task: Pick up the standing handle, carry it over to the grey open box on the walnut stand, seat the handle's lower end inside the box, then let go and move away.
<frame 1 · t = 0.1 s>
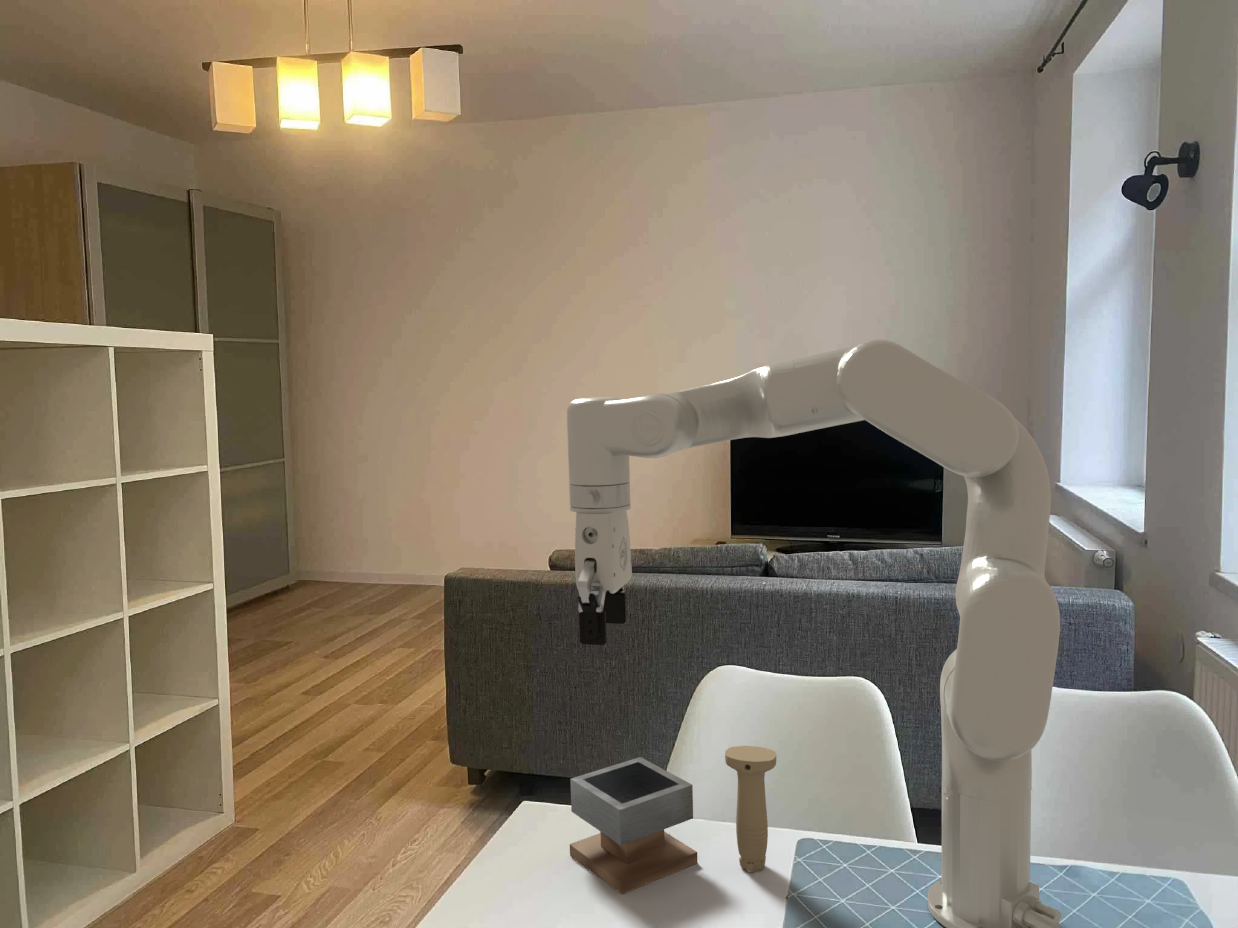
hand: (604, 632, 117), 31 cm above the table, tool pointing down, fingers open, 9 cm apart
cup stand: (632, 858, 123), on the table
grey open box: (631, 798, 122), on the cup stand, point 8 cm above the table
handle: (752, 867, 120), on the table
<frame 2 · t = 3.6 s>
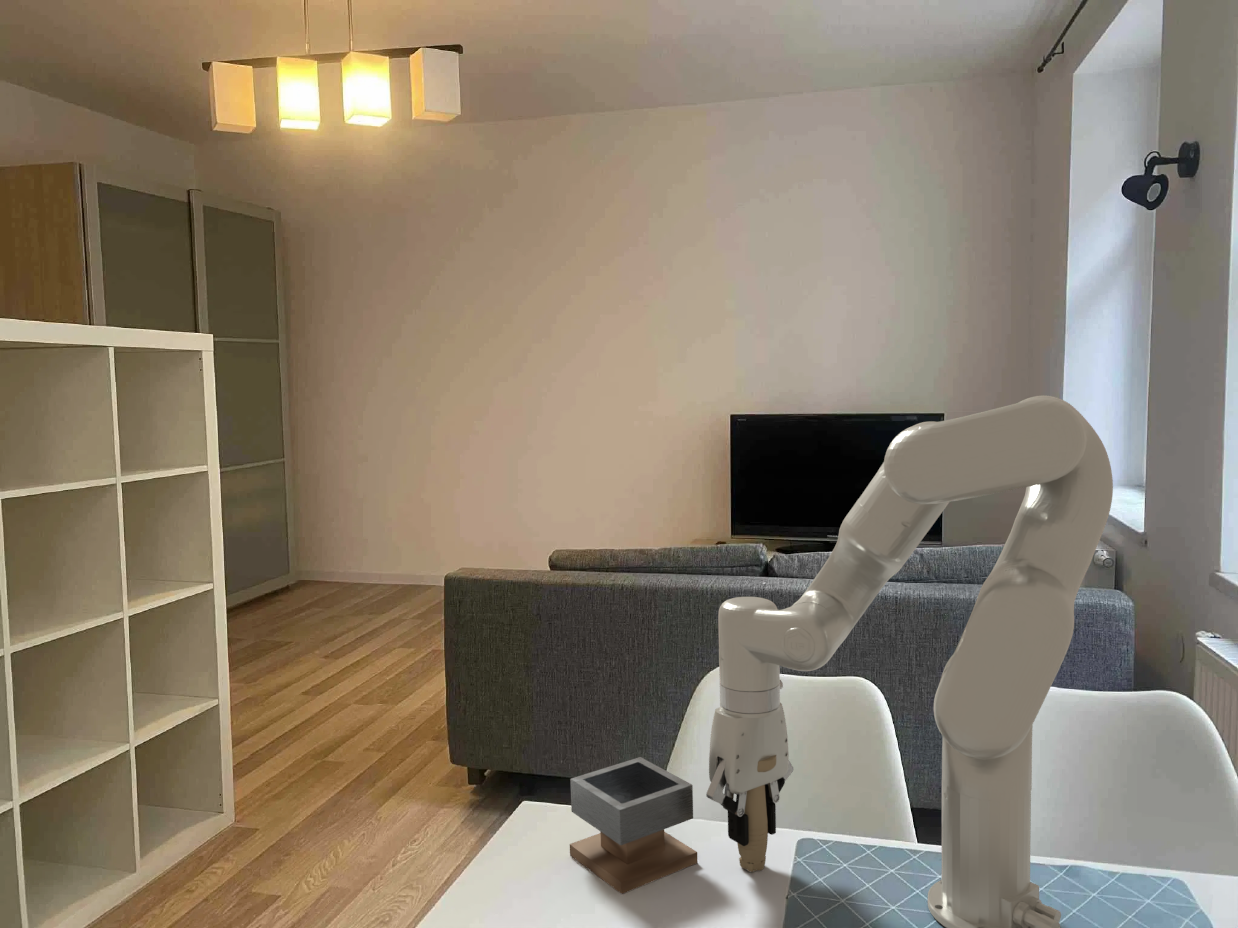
hand: (752, 834, 119), 4 cm above the table, tool pointing down, fingers closed on handle, 4 cm apart
handle: (752, 867, 120), on the table, touching gripper
when the fingers open (13 cm above the table, at t = 8.9 s): handle drops 1 cm, resting on grey open box.
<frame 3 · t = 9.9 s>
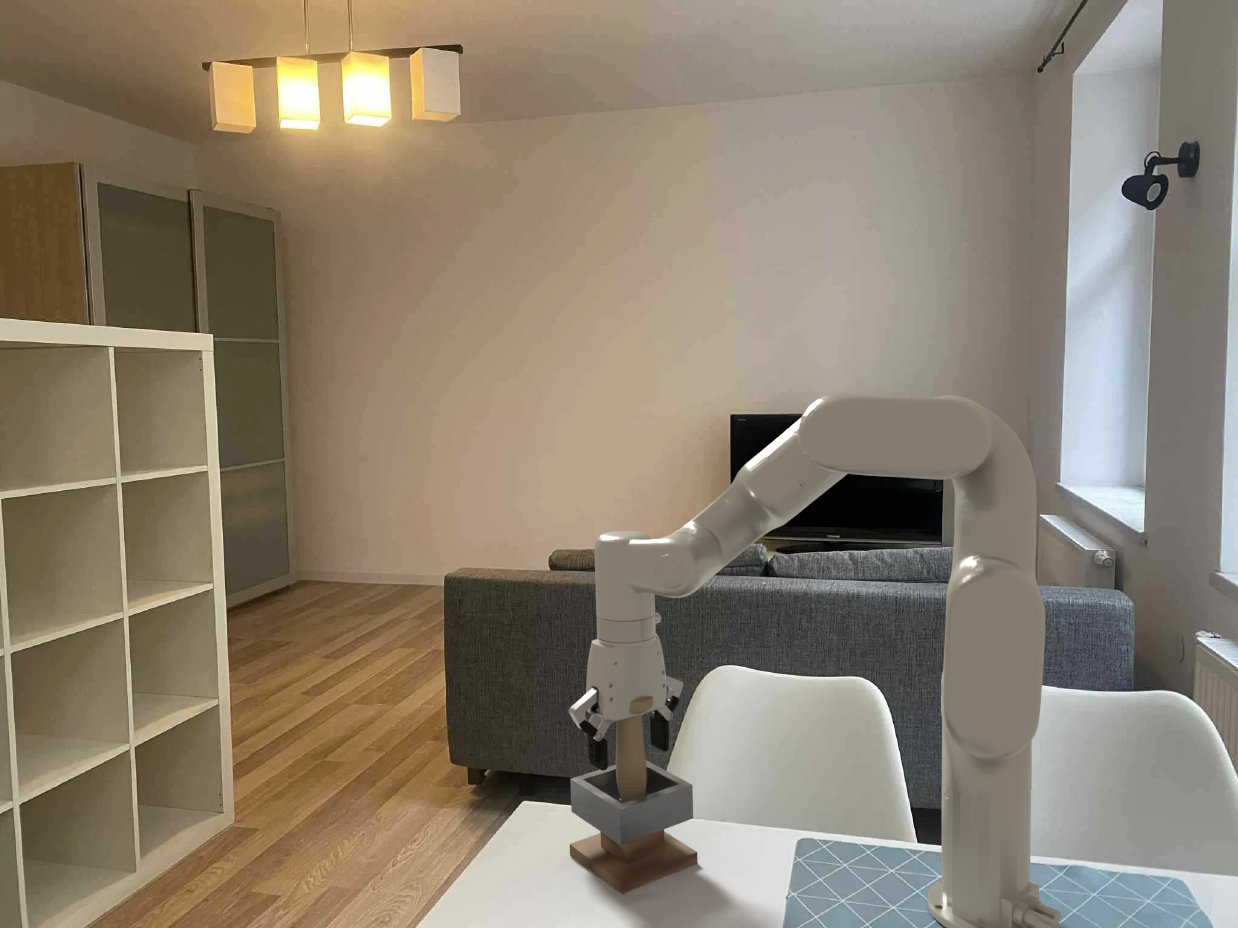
hand: (630, 757, 121), 14 cm above the table, tool pointing down, fingers open, 9 cm apart
handle: (632, 808, 122), point 7 cm above the table, touching grey open box
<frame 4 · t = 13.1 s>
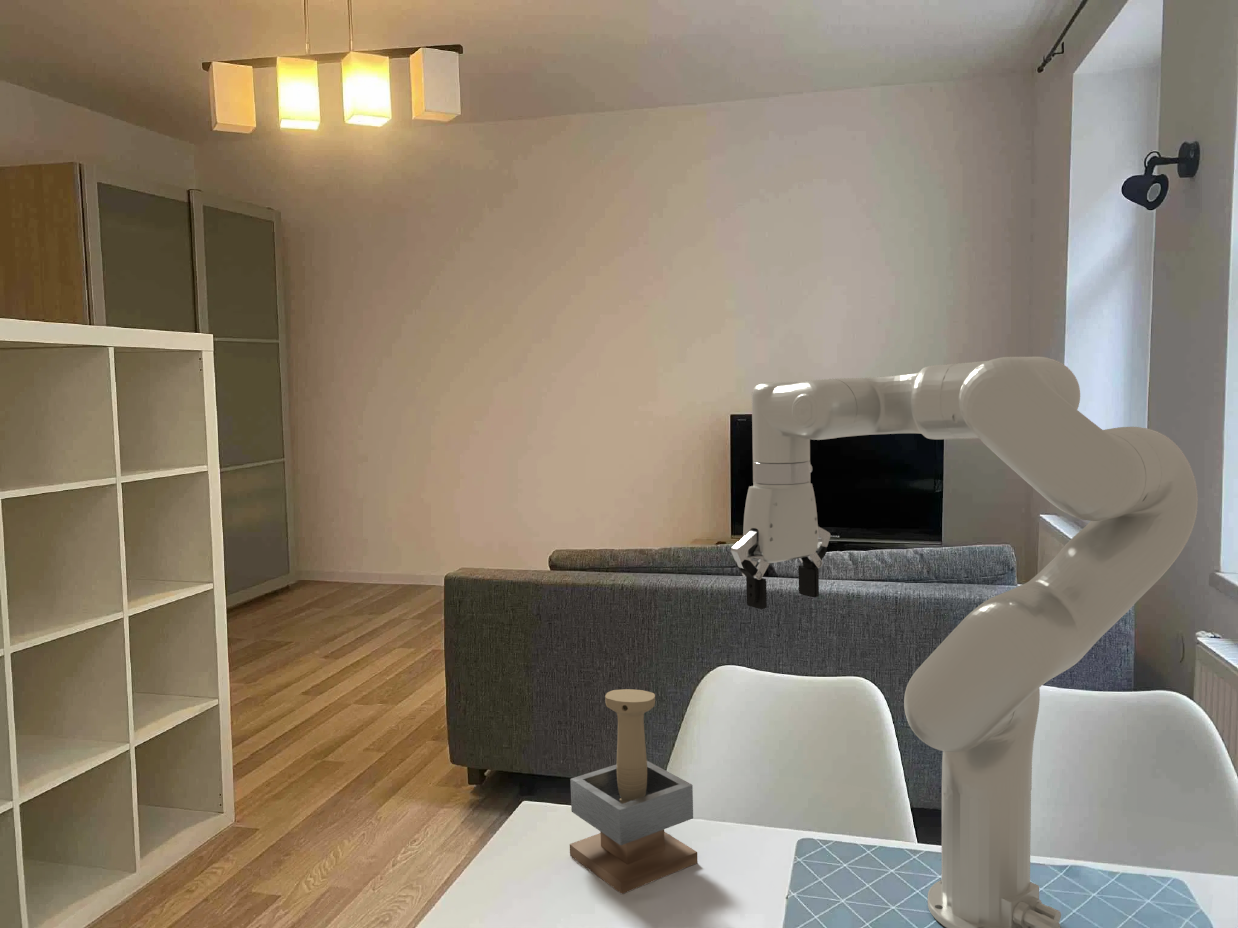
hand: (783, 601, 126), 32 cm above the table, tool pointing down, fingers open, 9 cm apart
nothing on the table moved.
at the end: handle 0.1 cm off-centre on the grey open box, point 6.8 cm above the grey open box's base; handle tilted 0°; the gripper is holding nothing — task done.
